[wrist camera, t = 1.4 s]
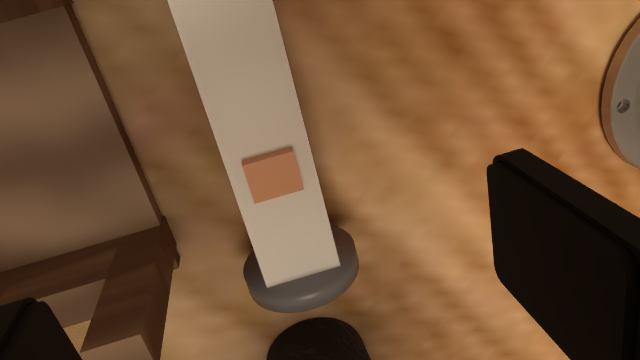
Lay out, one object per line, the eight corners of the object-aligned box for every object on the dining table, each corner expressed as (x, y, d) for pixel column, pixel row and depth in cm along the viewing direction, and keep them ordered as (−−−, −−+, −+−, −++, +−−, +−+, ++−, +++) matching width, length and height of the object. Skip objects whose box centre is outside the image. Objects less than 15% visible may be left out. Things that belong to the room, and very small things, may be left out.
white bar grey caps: (111, -122, 21) (70, -152, 16) (252, -155, 22) (262, -197, 16) (247, 258, 30) (252, 327, 25) (344, 229, 31) (372, 290, 25)
